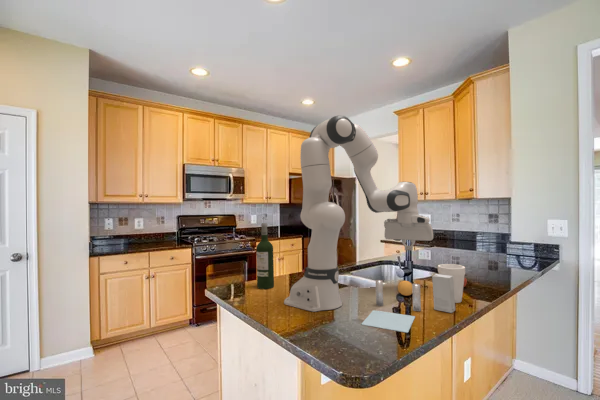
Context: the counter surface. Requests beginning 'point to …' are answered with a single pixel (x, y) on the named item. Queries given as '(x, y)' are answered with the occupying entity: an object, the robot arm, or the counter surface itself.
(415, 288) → the right post
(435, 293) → the skincare box
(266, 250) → the wine bottle
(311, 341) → the counter surface
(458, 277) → the foam cup
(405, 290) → the ball
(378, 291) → the left post
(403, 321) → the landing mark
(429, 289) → the counter surface
